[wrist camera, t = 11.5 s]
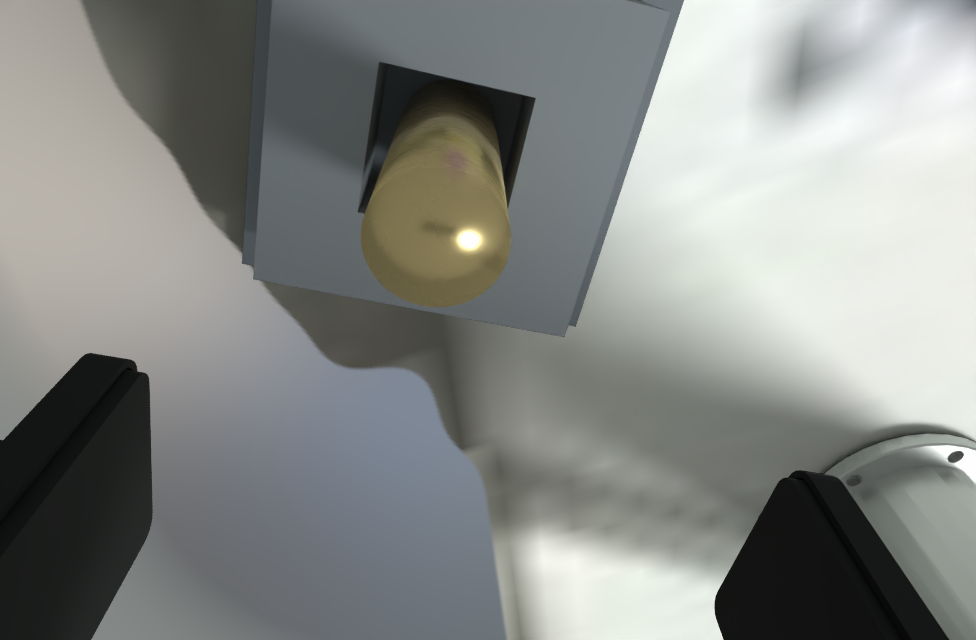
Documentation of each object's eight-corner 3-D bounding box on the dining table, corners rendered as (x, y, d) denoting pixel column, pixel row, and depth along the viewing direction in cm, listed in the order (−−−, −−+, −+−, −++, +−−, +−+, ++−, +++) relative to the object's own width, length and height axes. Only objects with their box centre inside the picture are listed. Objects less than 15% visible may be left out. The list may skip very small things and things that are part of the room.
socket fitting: (572, 316, 34) (587, 371, 30) (248, 254, 32) (213, 304, 28) (687, -33, 27) (729, -26, 22) (272, -142, 25) (231, -159, 20)
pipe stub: (484, 184, 30) (492, 318, 19) (393, 165, 29) (351, 292, 19) (505, 92, 28) (527, 186, 18) (409, 70, 28) (371, 153, 17)
